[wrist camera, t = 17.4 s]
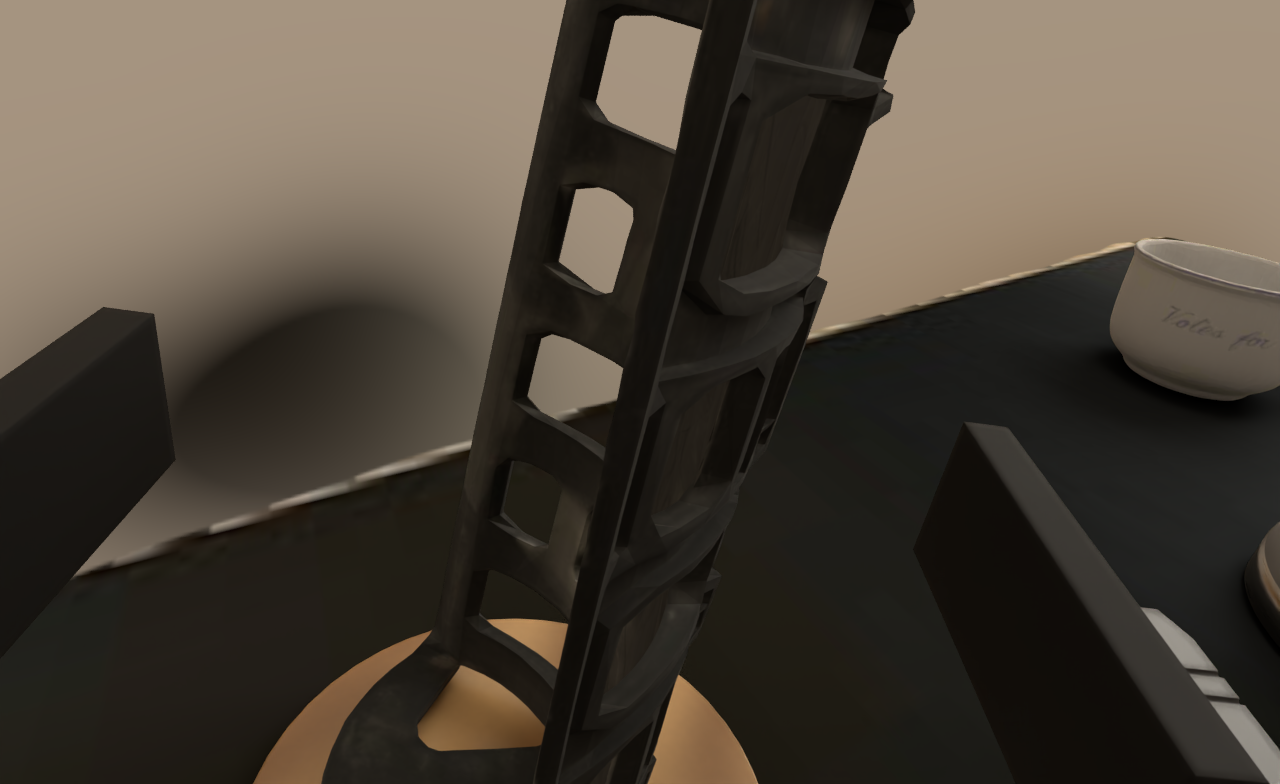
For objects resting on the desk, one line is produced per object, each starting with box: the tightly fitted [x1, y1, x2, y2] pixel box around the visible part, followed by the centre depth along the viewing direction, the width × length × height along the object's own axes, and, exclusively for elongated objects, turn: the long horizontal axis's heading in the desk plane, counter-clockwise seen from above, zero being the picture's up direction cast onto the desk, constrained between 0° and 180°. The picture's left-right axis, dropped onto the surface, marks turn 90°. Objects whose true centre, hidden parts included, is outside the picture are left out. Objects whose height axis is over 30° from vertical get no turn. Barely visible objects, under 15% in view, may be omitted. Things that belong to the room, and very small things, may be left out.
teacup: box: [1110, 239, 1280, 401], centre depth 52 cm, size 14×11×8 cm
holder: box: [321, 0, 915, 784], centre depth 16 cm, size 11×8×20 cm
